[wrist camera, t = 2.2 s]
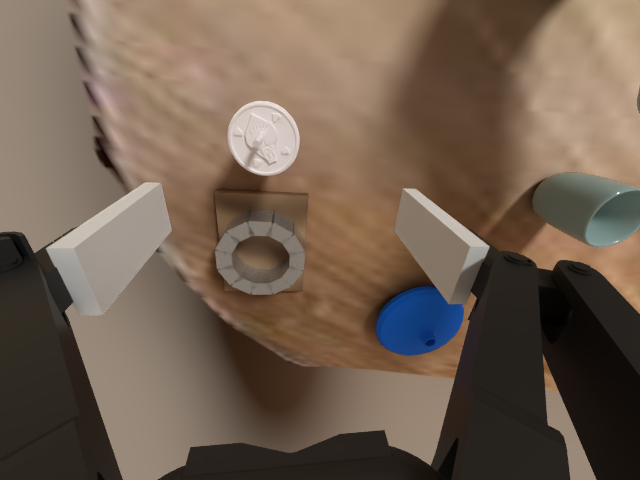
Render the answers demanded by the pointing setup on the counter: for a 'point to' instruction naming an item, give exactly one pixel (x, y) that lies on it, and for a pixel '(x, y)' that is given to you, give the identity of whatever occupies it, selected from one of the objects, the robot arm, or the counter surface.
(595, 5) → the counter surface
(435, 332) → the blue funnel
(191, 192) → the counter surface
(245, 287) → the ring
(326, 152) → the counter surface
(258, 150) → the smoothie
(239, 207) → the board
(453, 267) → the robot arm
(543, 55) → the counter surface
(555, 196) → the cup
